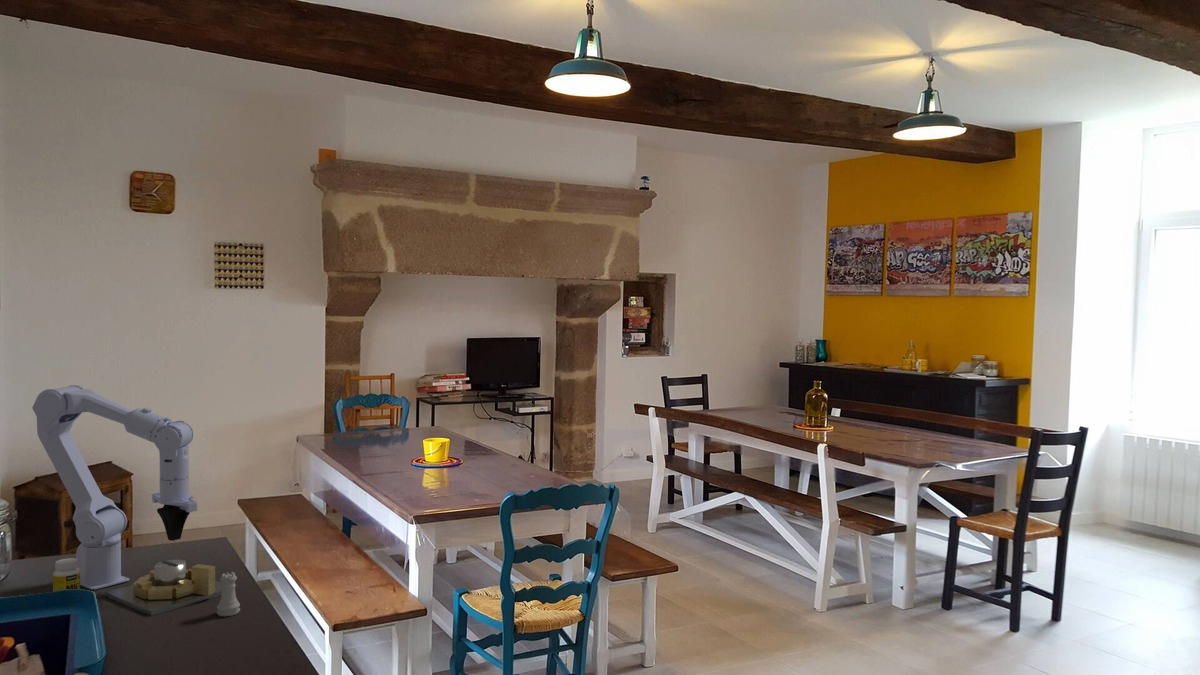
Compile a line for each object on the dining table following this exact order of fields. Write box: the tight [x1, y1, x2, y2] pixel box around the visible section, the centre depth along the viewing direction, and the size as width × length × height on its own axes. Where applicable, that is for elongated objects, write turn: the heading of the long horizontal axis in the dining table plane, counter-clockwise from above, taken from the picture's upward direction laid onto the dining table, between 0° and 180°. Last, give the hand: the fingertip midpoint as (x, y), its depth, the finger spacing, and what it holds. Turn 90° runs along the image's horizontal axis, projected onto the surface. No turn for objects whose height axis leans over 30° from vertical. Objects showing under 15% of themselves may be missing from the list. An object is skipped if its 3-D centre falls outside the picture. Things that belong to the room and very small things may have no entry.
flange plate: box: [104, 559, 222, 617], centre depth 185 cm, size 18×18×7 cm
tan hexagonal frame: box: [132, 563, 216, 600], centre depth 184 cm, size 13×17×6 cm
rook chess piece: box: [216, 571, 241, 618], centre depth 175 cm, size 4×4×8 cm
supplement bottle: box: [52, 557, 81, 592], centre depth 180 cm, size 5×5×8 cm
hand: (174, 539), depth 191 cm, fingers closed
